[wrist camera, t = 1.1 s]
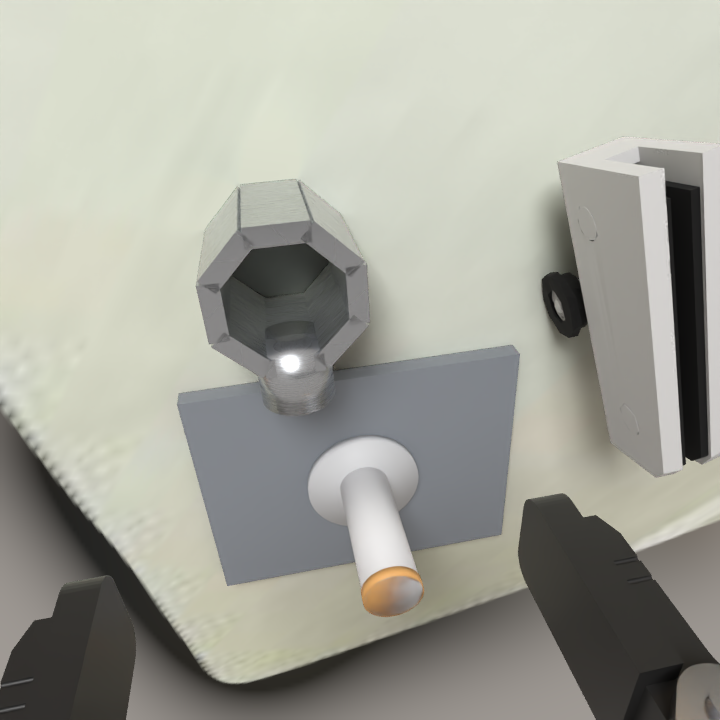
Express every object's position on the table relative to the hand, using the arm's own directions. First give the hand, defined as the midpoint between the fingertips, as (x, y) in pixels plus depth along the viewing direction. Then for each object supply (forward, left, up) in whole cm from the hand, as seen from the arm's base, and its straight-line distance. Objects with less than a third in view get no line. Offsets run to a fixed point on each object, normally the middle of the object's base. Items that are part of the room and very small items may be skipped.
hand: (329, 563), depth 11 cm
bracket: (-13, -4, -14) cm, 20 cm away
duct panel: (-3, +14, -18) cm, 23 cm away
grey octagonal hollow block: (0, 0, -18) cm, 18 cm away
